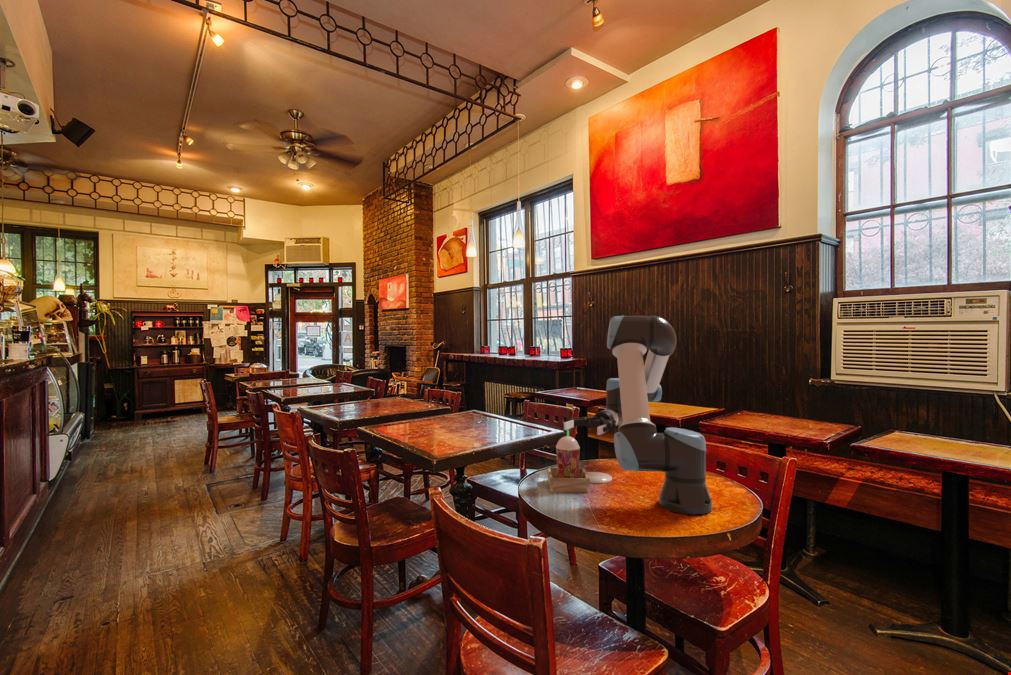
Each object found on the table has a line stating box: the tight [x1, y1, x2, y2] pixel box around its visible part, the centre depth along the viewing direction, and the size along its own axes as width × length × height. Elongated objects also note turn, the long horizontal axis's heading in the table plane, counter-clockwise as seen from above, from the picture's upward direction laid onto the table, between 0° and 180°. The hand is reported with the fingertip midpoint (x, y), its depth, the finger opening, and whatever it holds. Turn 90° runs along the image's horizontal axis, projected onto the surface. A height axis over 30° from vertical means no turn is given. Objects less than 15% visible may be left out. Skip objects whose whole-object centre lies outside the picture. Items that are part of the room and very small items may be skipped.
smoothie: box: [555, 428, 581, 478], centre depth 161 cm, size 8×8×20 cm
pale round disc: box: [586, 471, 613, 484], centre depth 170 cm, size 12×12×1 cm
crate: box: [547, 466, 590, 493], centre depth 161 cm, size 13×13×4 cm
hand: (580, 428), depth 169 cm, fingers open, 13 cm apart
